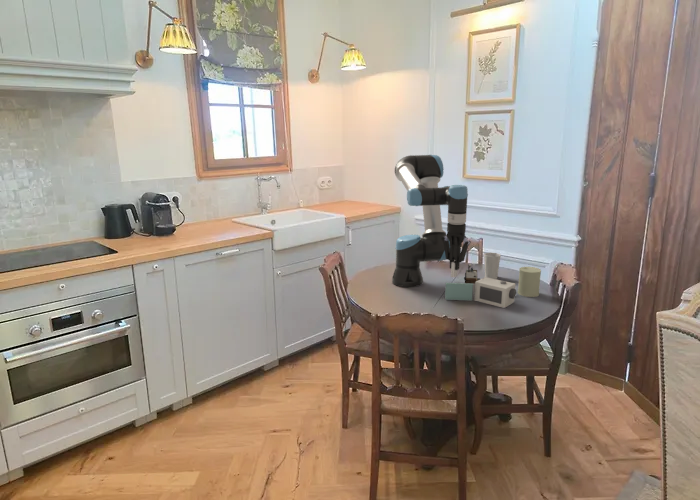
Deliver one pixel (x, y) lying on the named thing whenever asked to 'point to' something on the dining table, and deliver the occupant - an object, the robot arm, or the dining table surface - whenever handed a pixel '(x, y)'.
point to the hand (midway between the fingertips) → (454, 276)
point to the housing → (494, 292)
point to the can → (529, 281)
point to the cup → (491, 265)
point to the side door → (460, 291)
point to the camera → (471, 275)
